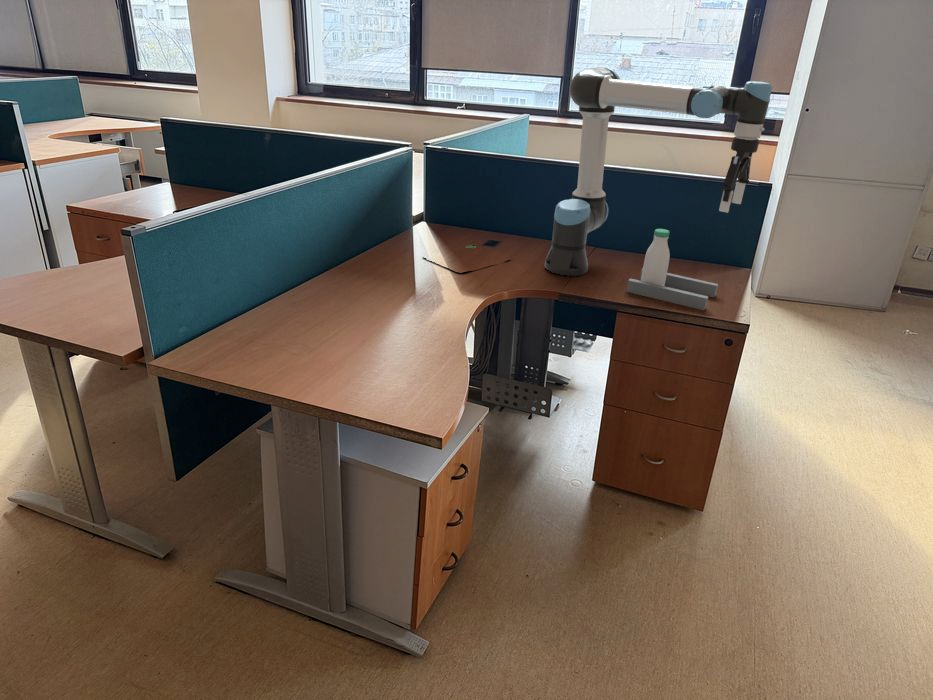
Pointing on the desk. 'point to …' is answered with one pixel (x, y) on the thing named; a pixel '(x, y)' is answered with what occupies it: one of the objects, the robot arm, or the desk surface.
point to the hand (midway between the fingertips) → (729, 207)
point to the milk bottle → (657, 259)
